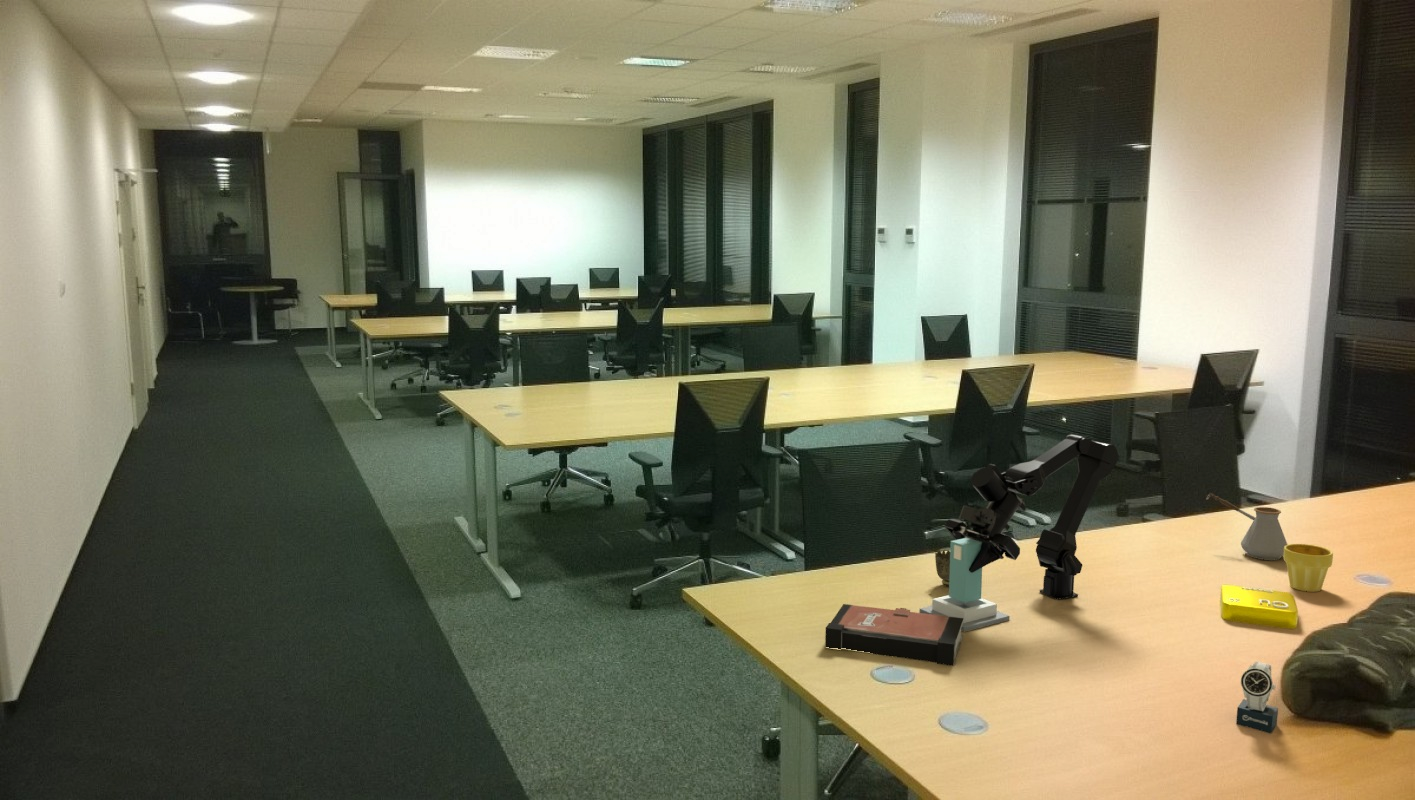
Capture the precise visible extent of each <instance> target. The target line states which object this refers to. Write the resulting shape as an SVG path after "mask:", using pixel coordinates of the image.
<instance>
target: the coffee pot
mask: <svg viewBox="0 0 1415 800" xmlns="http://www.w3.org/2000/svg"><path fill="white" fill-rule="evenodd" d="M1210 497H1211V498H1213V499H1215V501H1218V502H1219V503H1221V504H1222V505H1224V506H1226V507H1228V508H1230V509H1232V510H1234V511H1236V512H1238V513H1240V514H1241V515H1243V516H1245V517H1246V518H1249V519H1250V520H1252V523H1251V524H1250V526H1249V528H1248V529H1247V531H1246V533H1245V534H1244V536H1243V538H1242V540H1241V542H1240V545H1241V548H1242V550H1243V551H1244V552H1246V553H1247V555H1248V556H1249V557H1251V558H1253V557H1254V559H1257V558H1258V559H1257V560H1263V559H1264V561H1278V560H1281V557H1284V547H1285V546H1286V545H1289V544H1288V542H1287V539H1286V537H1285V534H1284V532H1283V529H1282V526H1281V524H1280V522H1279V519H1278V518H1279V515H1281V513H1282V511H1281V510H1280V509H1277V508H1275V507H1274V508H1273V507H1268V506H1267V507H1266V506H1259V507H1258V506H1257V507H1254V509H1253V511H1255V516H1254V515H1251V514H1250V513H1248V512H1246V511H1244V510H1242V509H1240V508H1239V507H1237V506H1236V505H1234V504H1232V503H1231V502H1229V501H1228V500H1226V499H1223V498H1221V497H1219V496H1218V495H1217V496H1216V495H1215V494H1214V493H1211V492H1209V494H1208V495H1207V496H1206V499H1205V500H1209V498H1210ZM1277 559H1278V560H1277Z"/></svg>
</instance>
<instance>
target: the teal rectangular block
mask: <svg viewBox="0 0 1415 800" xmlns="http://www.w3.org/2000/svg"><path fill="white" fill-rule="evenodd" d="M981 545H982V542H979V541H976V540H973V539H969V538H963V539H958V540H956V539H954V540H950V547H949V551H950V576H949V587H948V595H949V597H951V598H954V599H956V600H959V601H961V602H964V603H967V602H971V601H975V600H979V599H981V598H982V585H983V567H982V568H980V569H978V570H977V571H975V572H973V573H971V572H970V571H969V568H970V566H971V564H972V563H973V561H974V559H975V558H976V556H977V555H978V553H979V551H980V550H981Z"/></svg>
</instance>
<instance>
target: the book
mask: <svg viewBox="0 0 1415 800" xmlns="http://www.w3.org/2000/svg"><path fill="white" fill-rule="evenodd" d="M963 621H964V618H957V617H949V616H940V615H932V614H924V613H919V612H913V611H911V609H908V608H905V607H900V608H899V607H898V608H895V609H890V608H889V609H888V608H883V607H882V608H881V607H872V606H871V607H870V606H863V605H854V604H848V603H847V604H846V603H843V604H842V606H841V607H840V608H839V610H838V612H837V613H836V614H835V616H833V618H832V620H831V621H830V622H828V624H827V625H826V626H825V634H824V635H825V639H824V640H825V642H824V644H825V647H829V648H838V649H841V648H846V649H851V650H857V651H864V652H870V653H873V654H872V655H877V654H878V655H879V656H884V655H886V656H885V657H892V656H893V657H892V658H900V659H907V660H915V661H923V662H929V661H930V663H936V664H937V665H945V666H952V667H954V665H955V662H956V659H957V656H958V653H959V650H960V646H961V644H962V641H963V637H964V635H963V634H962V631H961V627H962V624H963ZM870 653H869V654H870Z"/></svg>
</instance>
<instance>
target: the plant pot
mask: <svg viewBox="0 0 1415 800" xmlns="http://www.w3.org/2000/svg"><path fill="white" fill-rule="evenodd" d="M1333 559H1334V553H1333V551H1332V550H1331V549H1330V548H1327V547H1323V546H1319V545H1314V544H1308V543H1290V544H1288V545H1286V546H1285V547H1284V556H1283V561H1284V562H1285V563H1286V568H1287V569H1286V570H1287V575H1288V580H1289V586H1290V587H1291V588H1293V590H1296V591H1302V592H1306V591H1307V592H1308V593H1313V592H1314V593H1315V592H1317V593H1318V592H1319V591H1321V590H1322V588H1323V585H1324V584H1325V583H1324V582H1325V579H1326V576H1327V573H1328V571H1329V568H1331V567H1332V566H1333ZM1307 592H1306V593H1307Z"/></svg>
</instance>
